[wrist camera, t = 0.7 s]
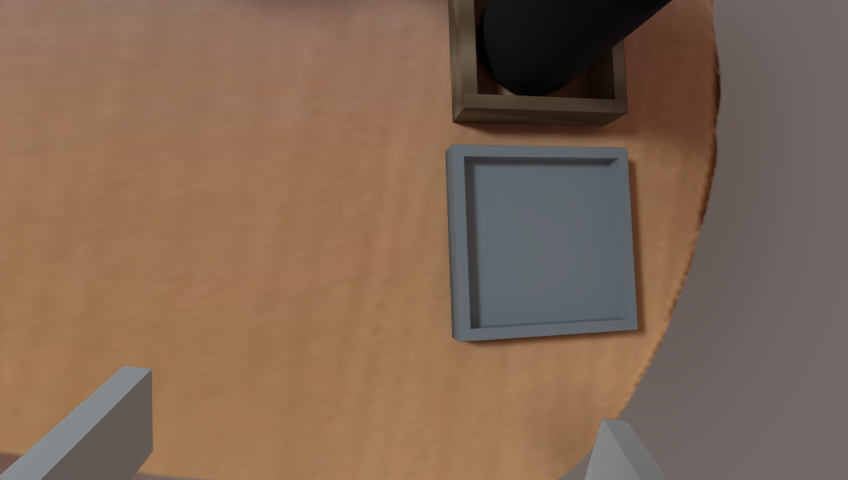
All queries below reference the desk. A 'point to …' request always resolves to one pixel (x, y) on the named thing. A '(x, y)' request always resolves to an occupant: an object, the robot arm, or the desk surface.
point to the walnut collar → (510, 109)
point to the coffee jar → (554, 38)
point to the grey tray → (539, 241)
